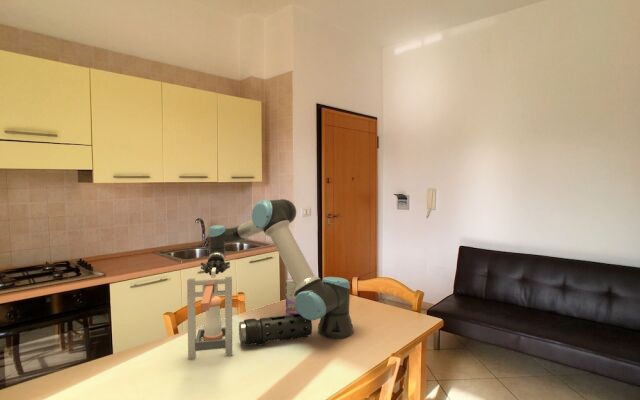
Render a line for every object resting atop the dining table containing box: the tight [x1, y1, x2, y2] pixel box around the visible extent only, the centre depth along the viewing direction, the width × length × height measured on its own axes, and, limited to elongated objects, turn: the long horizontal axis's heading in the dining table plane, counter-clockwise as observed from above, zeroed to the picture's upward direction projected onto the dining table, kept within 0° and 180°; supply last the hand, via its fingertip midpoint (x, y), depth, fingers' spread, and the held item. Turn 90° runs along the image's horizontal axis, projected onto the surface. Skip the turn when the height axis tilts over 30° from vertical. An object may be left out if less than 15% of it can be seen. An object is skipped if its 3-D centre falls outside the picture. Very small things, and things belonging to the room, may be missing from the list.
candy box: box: [285, 277, 299, 315], centre depth 177 cm, size 14×6×16 cm, turn 77°
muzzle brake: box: [238, 314, 313, 346], centre depth 146 cm, size 10×28×10 cm, turn 110°
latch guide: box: [186, 276, 233, 361], centre depth 133 cm, size 2×15×29 cm, turn 102°
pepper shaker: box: [203, 296, 223, 341], centre depth 145 cm, size 7×7×19 cm
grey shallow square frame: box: [196, 327, 225, 351], centre depth 145 cm, size 12×12×3 cm
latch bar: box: [200, 278, 219, 312], centre depth 124 cm, size 22×5×5 cm, turn 12°
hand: (213, 274), depth 149 cm, fingers closed
